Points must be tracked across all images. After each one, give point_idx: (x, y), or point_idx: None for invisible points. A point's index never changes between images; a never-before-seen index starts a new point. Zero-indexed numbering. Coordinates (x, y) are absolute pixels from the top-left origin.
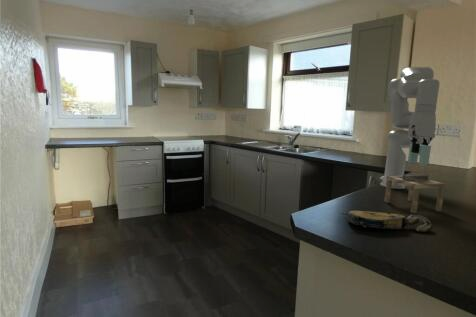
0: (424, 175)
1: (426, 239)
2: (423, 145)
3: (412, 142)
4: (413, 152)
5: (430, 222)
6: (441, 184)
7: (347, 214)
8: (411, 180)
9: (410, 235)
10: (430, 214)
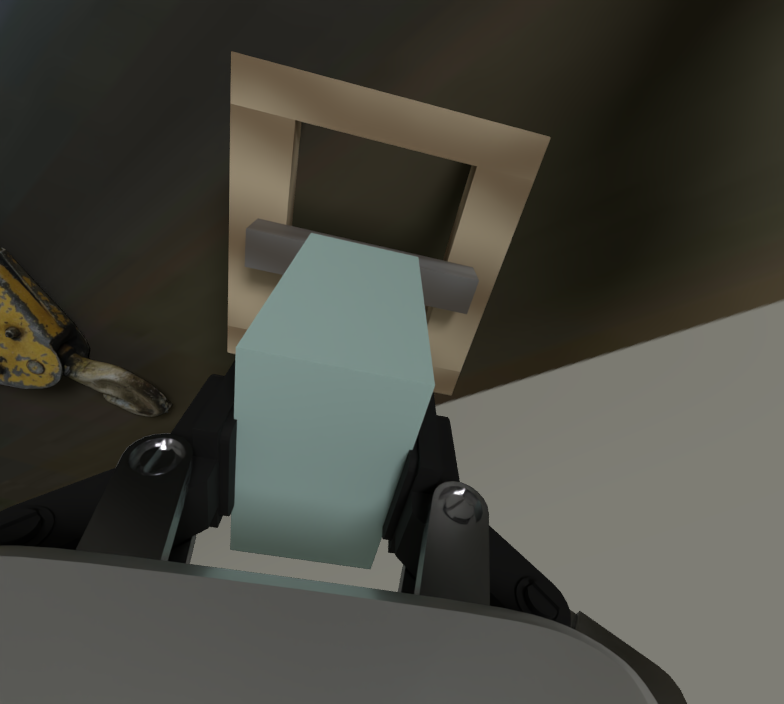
0: (433, 302)
1: (100, 423)
2: (298, 523)
3: (133, 465)
4: None
5: (157, 414)
6: None
7: None
8: None
9: (69, 393)
10: None
